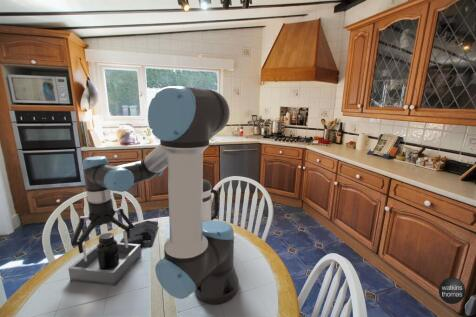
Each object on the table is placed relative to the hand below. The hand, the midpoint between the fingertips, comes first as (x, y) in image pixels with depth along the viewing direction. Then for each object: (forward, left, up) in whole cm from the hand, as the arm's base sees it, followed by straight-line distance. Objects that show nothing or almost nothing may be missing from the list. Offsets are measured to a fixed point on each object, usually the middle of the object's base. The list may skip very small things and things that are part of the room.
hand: (106, 252), depth 88 cm
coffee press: (-28, -28, -6) cm, 40 cm away
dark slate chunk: (0, -22, -7) cm, 24 cm away
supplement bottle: (0, 0, -5) cm, 5 cm away
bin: (0, 0, -6) cm, 6 cm away
